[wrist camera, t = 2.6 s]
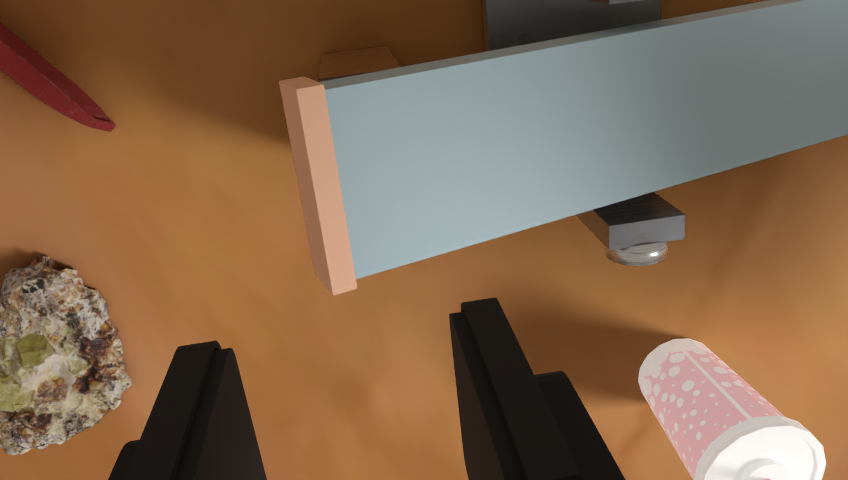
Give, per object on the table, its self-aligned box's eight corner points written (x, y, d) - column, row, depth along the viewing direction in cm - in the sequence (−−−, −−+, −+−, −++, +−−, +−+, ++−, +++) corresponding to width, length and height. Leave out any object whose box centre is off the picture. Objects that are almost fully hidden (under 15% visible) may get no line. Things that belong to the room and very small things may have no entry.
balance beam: (858, -22, 29) (905, -23, 28) (838, 123, 32) (881, 131, 30) (278, 81, 20) (296, 89, 19) (314, 272, 23) (333, 295, 21)
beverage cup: (628, 424, 41) (762, 636, 28) (622, 339, 39) (765, 529, 26) (725, 402, 41) (901, 602, 29) (725, 316, 39) (917, 492, 26)
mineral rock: (124, 469, 36) (-62, 482, 32) (123, 418, 39) (-44, 425, 36) (145, 283, 32) (-60, 274, 29) (142, 247, 36) (-41, 235, 32)
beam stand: (653, -70, 30) (775, -81, 22) (647, 183, 35) (746, 254, 27) (308, -29, 29) (297, -25, 21) (349, 227, 34) (354, 315, 26)
